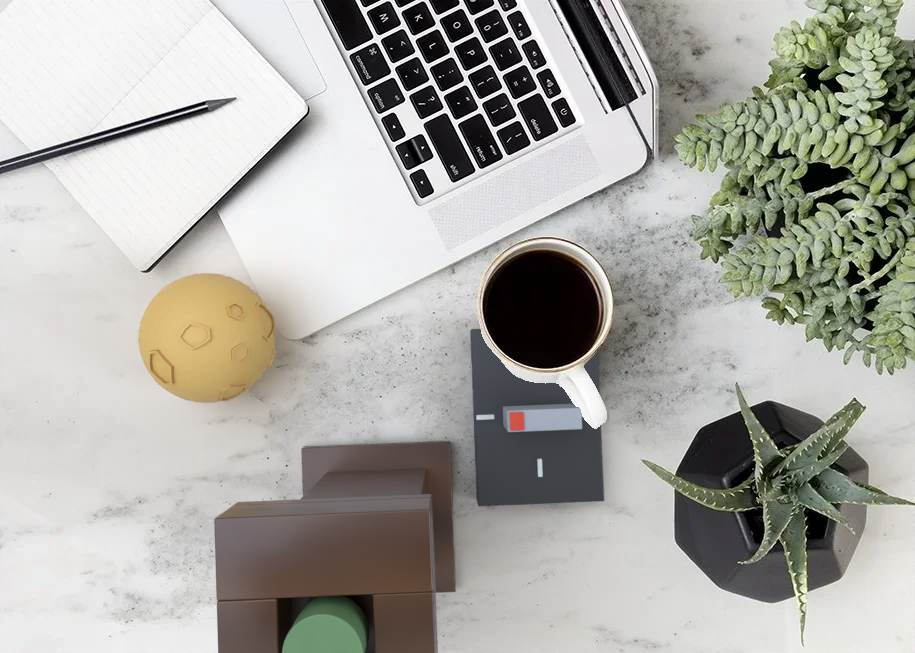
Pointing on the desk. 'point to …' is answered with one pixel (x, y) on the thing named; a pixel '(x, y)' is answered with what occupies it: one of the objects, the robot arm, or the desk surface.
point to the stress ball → (207, 338)
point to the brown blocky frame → (326, 569)
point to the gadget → (529, 440)
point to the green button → (328, 628)
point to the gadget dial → (542, 417)
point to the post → (390, 484)
